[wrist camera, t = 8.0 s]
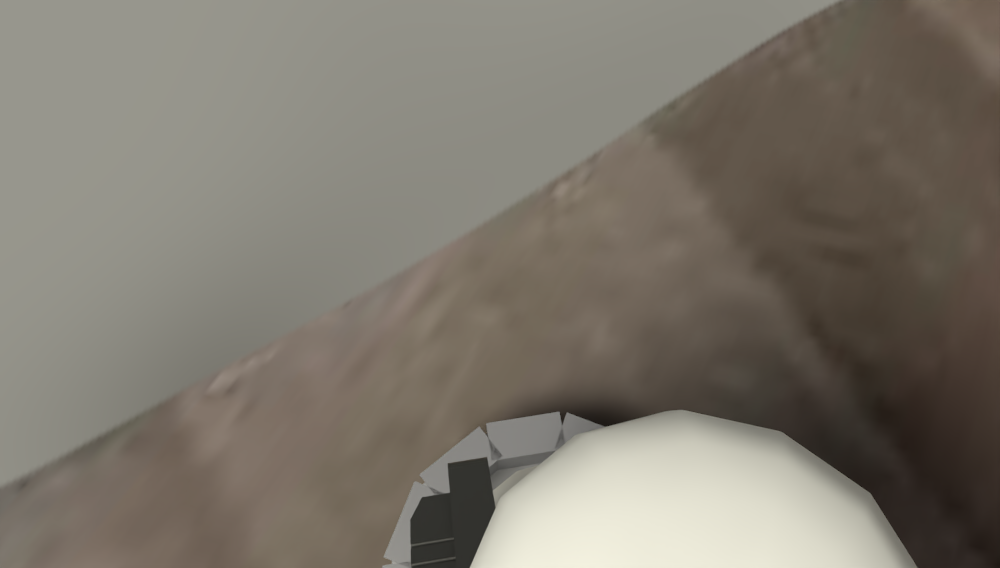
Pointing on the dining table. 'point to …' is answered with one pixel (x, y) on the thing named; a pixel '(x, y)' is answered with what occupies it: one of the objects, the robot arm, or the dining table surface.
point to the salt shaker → (686, 503)
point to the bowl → (506, 454)
